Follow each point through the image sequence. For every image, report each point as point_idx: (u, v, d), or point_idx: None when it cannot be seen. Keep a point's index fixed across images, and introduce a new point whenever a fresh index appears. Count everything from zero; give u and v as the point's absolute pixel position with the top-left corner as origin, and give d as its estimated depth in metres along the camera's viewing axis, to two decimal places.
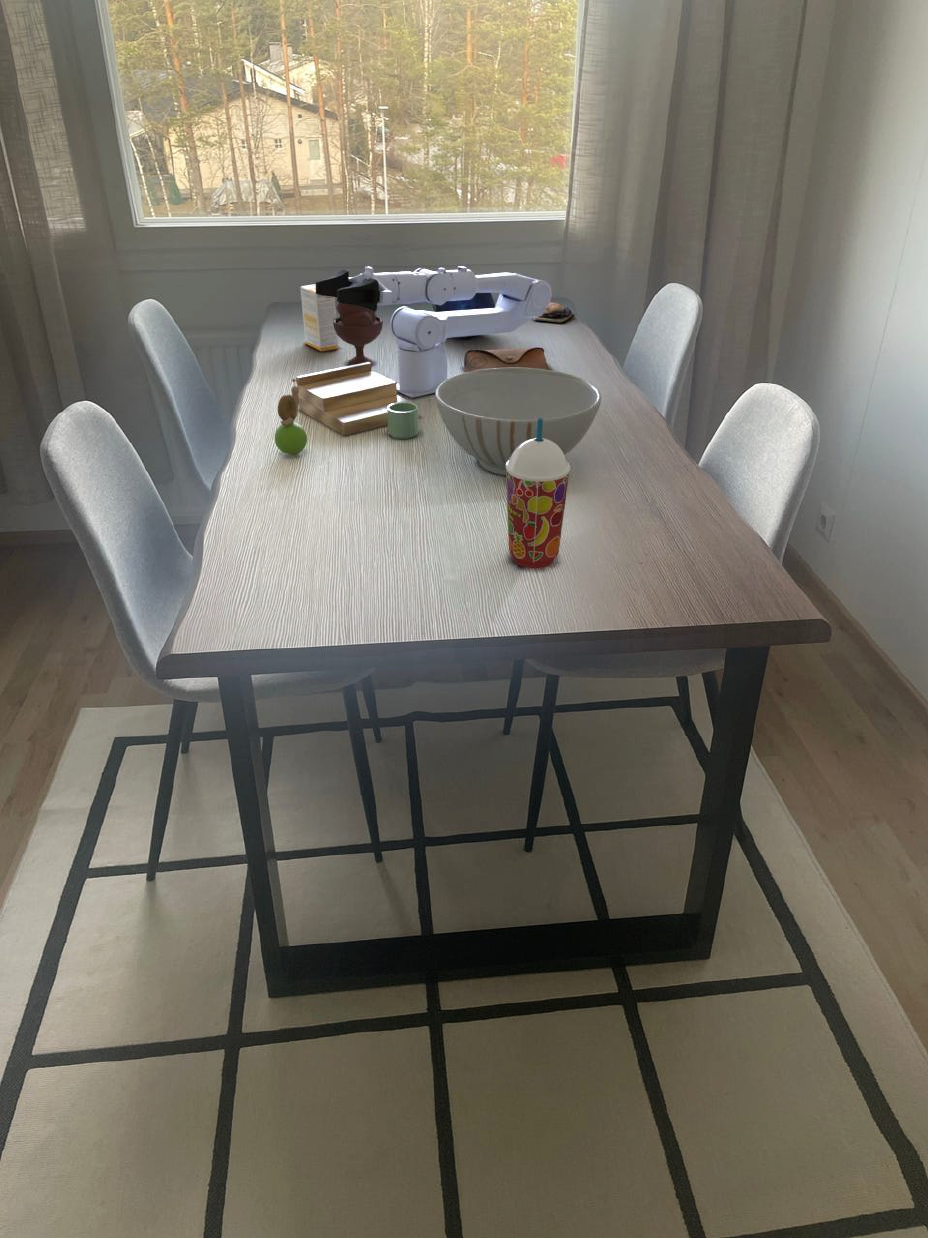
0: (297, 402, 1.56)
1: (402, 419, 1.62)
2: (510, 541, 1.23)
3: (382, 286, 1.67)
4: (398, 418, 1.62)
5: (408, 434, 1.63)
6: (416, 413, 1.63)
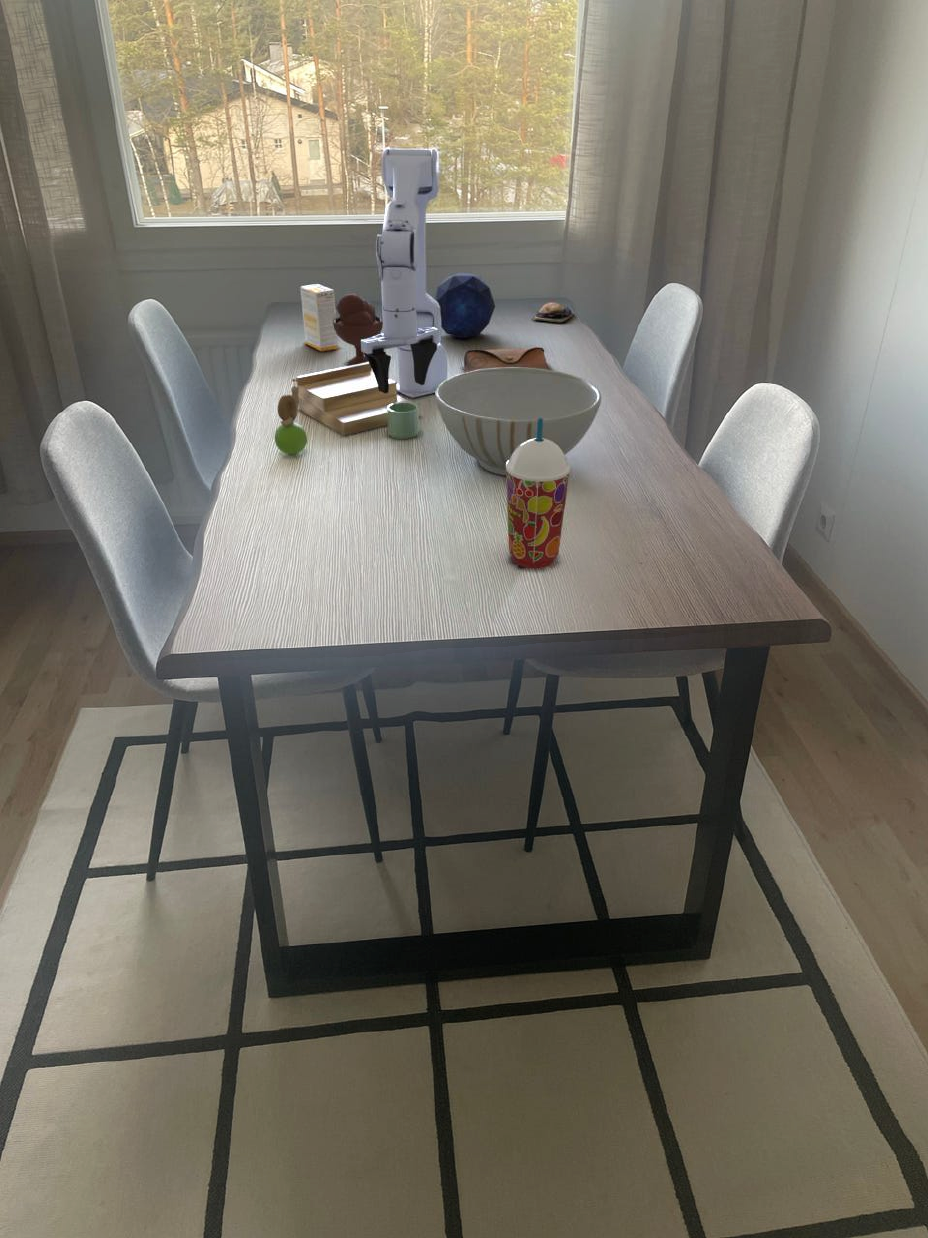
0: (297, 402, 1.56)
1: (402, 419, 1.62)
2: (510, 541, 1.23)
3: (428, 334, 1.58)
4: (398, 418, 1.62)
5: (408, 434, 1.63)
6: (416, 413, 1.63)
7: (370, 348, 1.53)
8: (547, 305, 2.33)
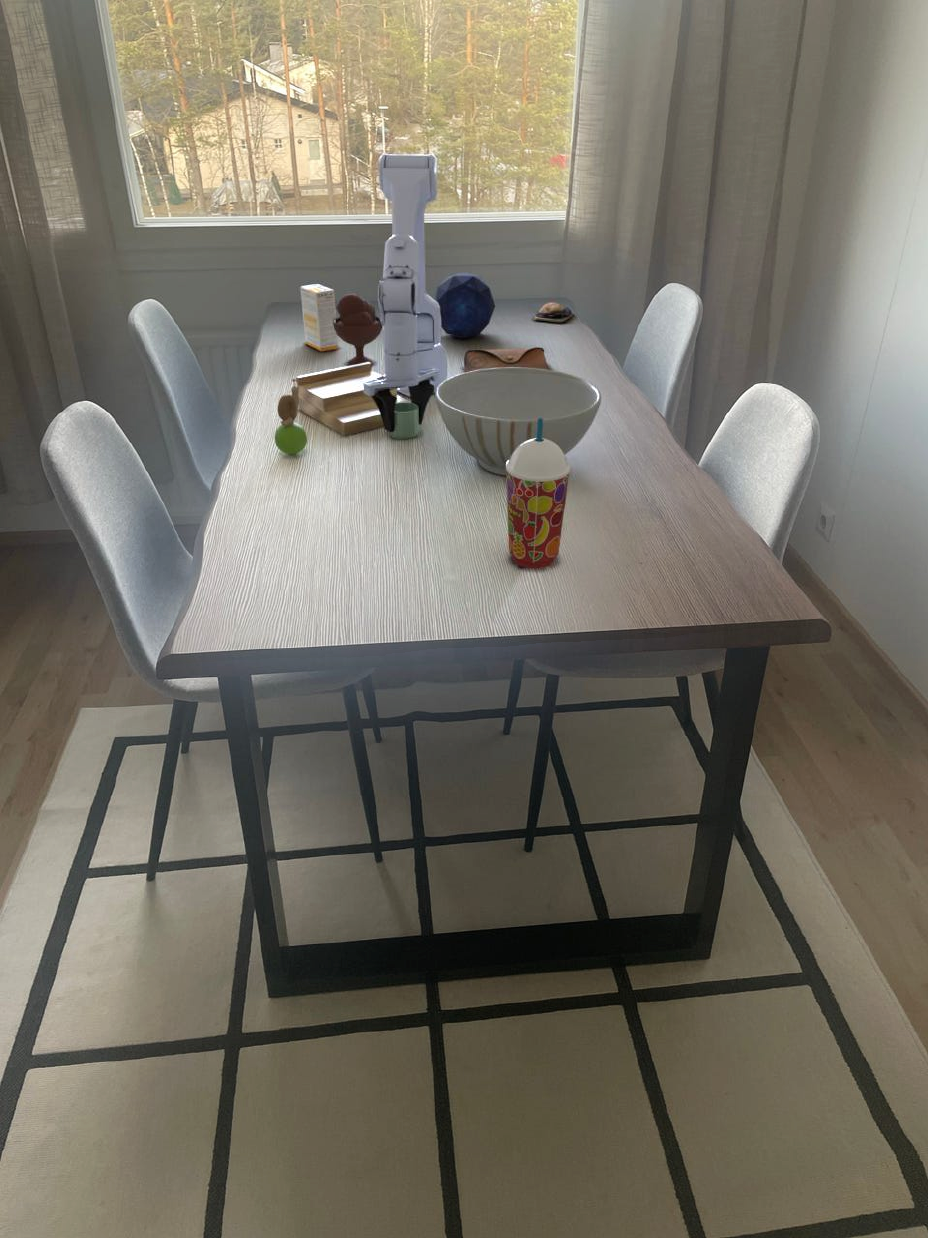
0: (297, 402, 1.56)
1: (403, 419, 1.62)
2: (510, 541, 1.23)
3: (429, 375, 1.62)
4: (399, 418, 1.62)
5: (408, 434, 1.63)
6: (416, 413, 1.63)
7: (372, 390, 1.57)
8: (547, 305, 2.33)
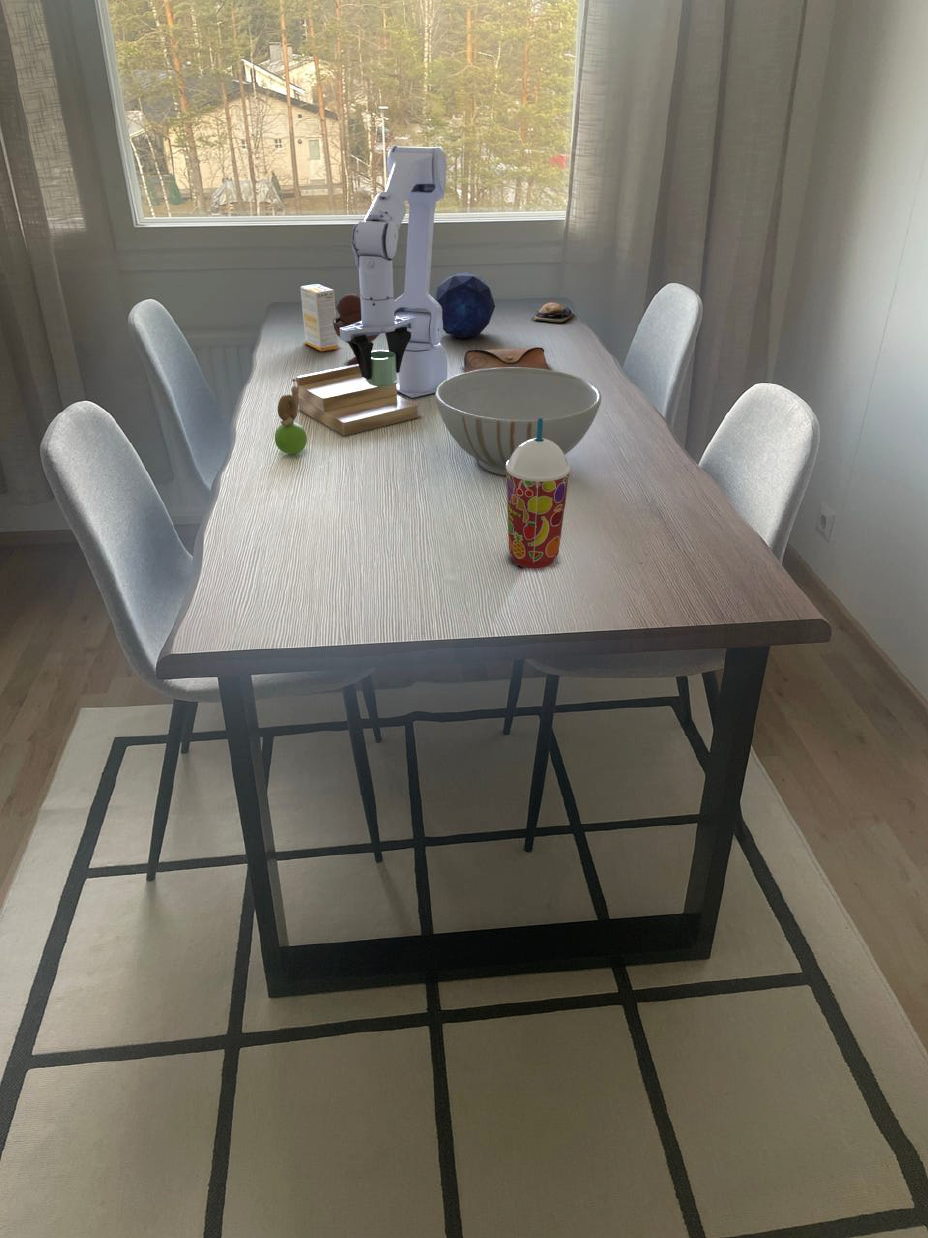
0: (297, 402, 1.56)
1: (380, 366, 1.62)
2: (510, 541, 1.23)
3: (406, 322, 1.62)
4: (376, 364, 1.62)
5: (386, 381, 1.63)
6: (393, 360, 1.63)
7: (349, 336, 1.57)
8: (547, 305, 2.33)
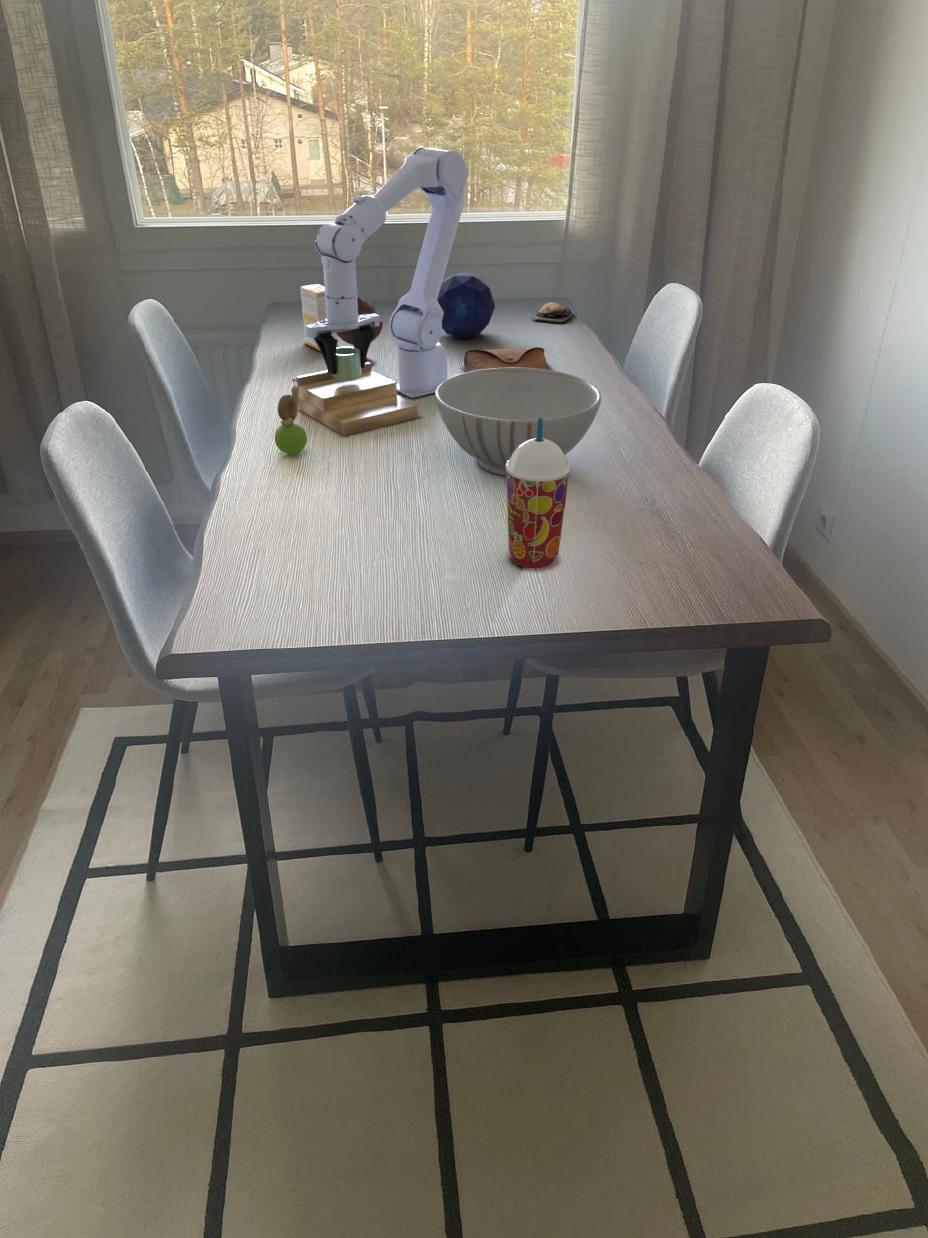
0: (297, 402, 1.56)
1: (344, 361, 1.70)
2: (510, 541, 1.23)
3: (369, 320, 1.70)
4: (340, 360, 1.70)
5: (350, 376, 1.72)
6: (358, 356, 1.71)
7: (314, 333, 1.65)
8: (547, 305, 2.33)
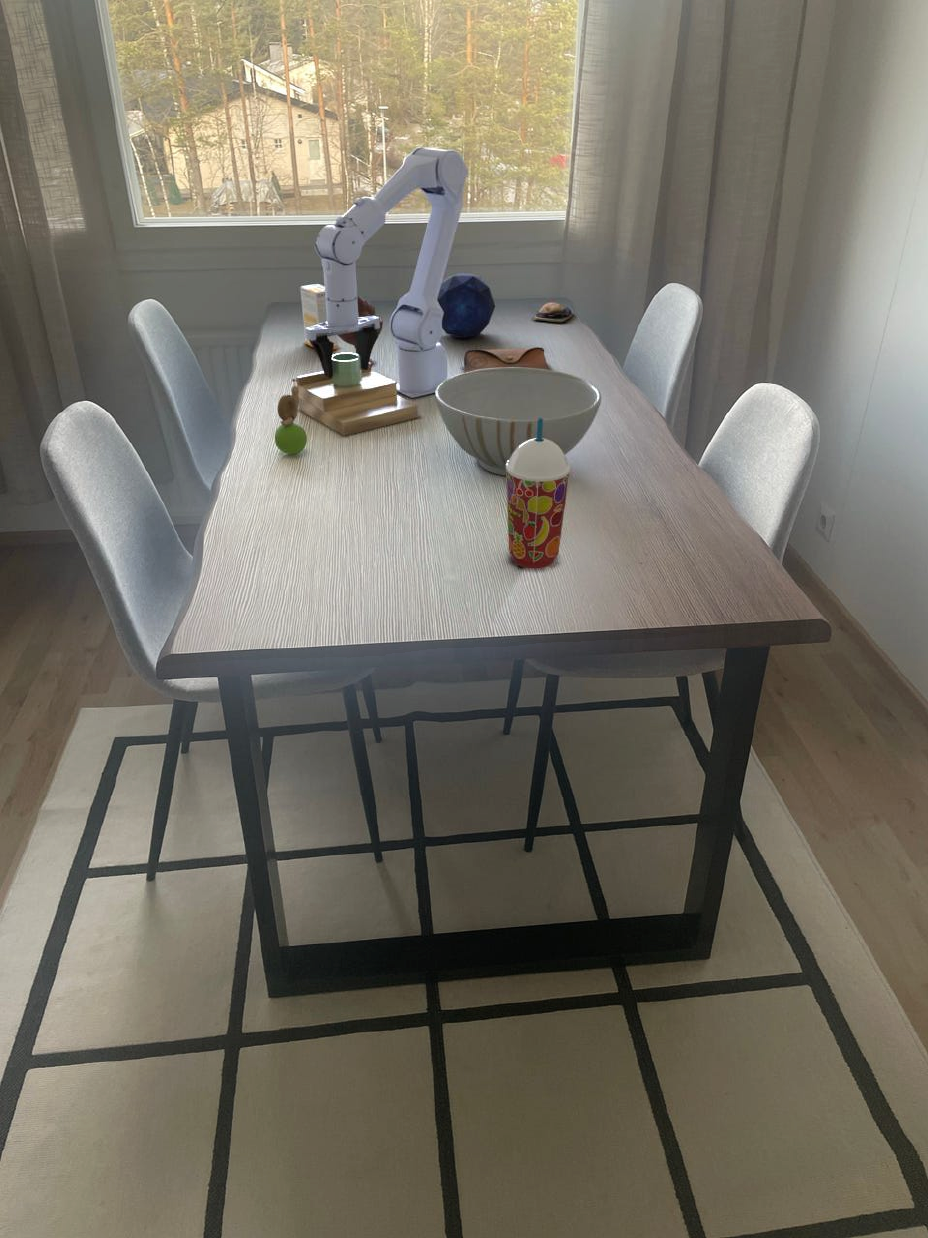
0: (297, 402, 1.56)
1: (345, 367, 1.70)
2: (510, 541, 1.23)
3: (369, 323, 1.71)
4: (341, 366, 1.70)
5: (351, 382, 1.72)
6: (358, 362, 1.72)
7: (314, 335, 1.65)
8: (547, 305, 2.33)
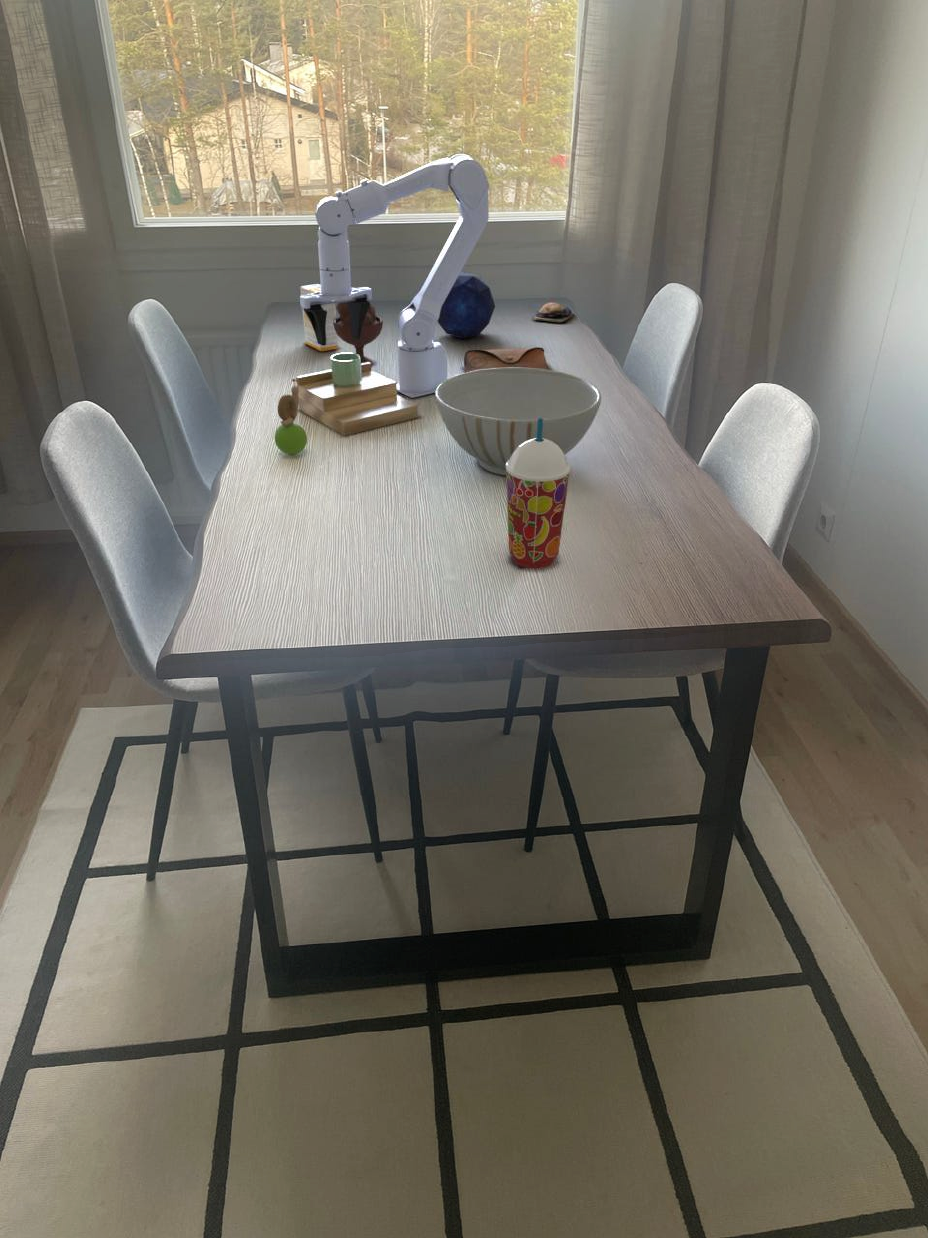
0: (297, 402, 1.56)
1: (345, 367, 1.70)
2: (510, 541, 1.23)
3: (362, 293, 1.77)
4: (341, 366, 1.70)
5: (351, 382, 1.72)
6: (358, 362, 1.72)
7: (308, 303, 1.71)
8: (547, 305, 2.33)
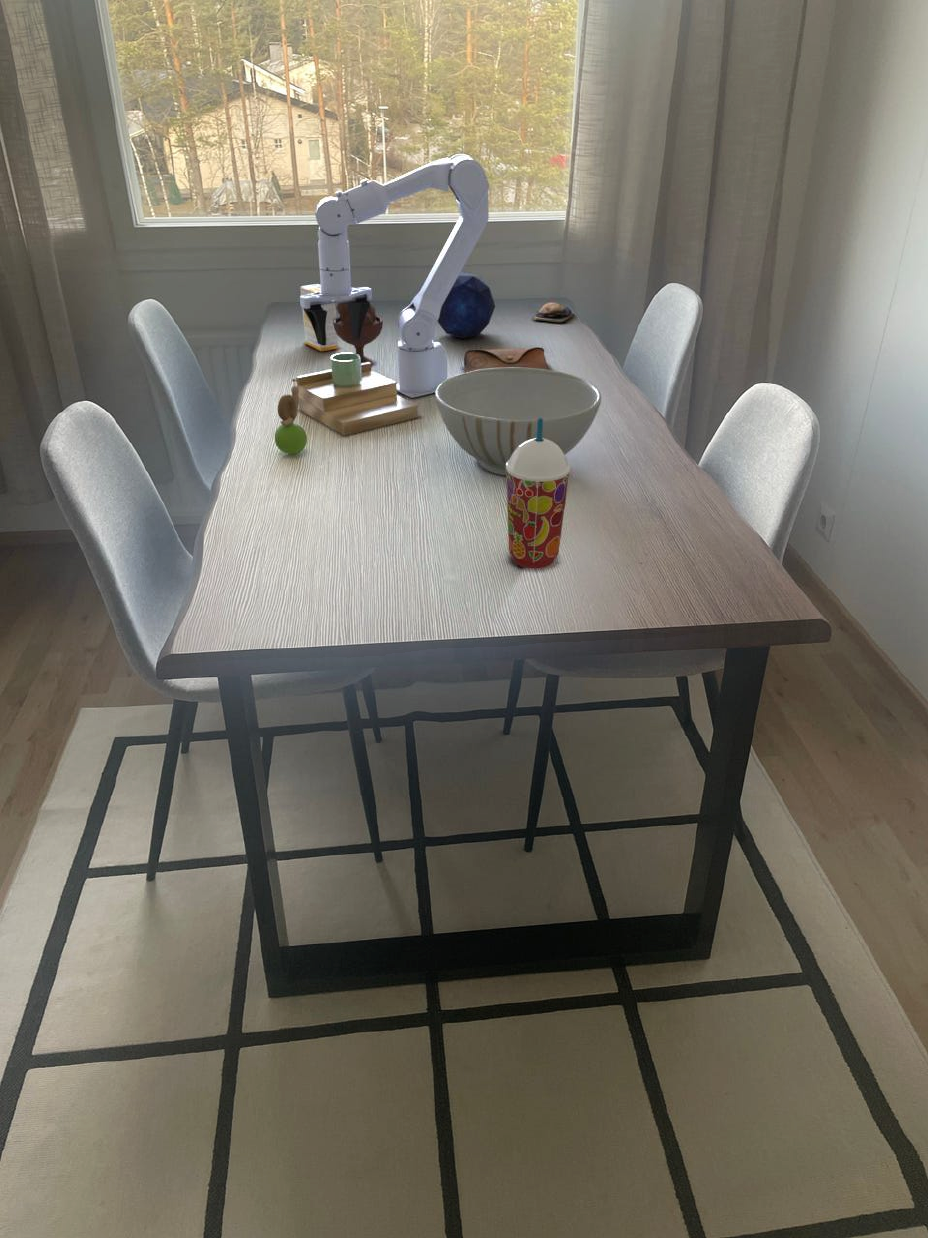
0: (297, 402, 1.56)
1: (345, 367, 1.70)
2: (510, 541, 1.23)
3: (362, 293, 1.77)
4: (341, 366, 1.70)
5: (351, 382, 1.72)
6: (358, 362, 1.72)
7: (308, 303, 1.71)
8: (547, 305, 2.33)
